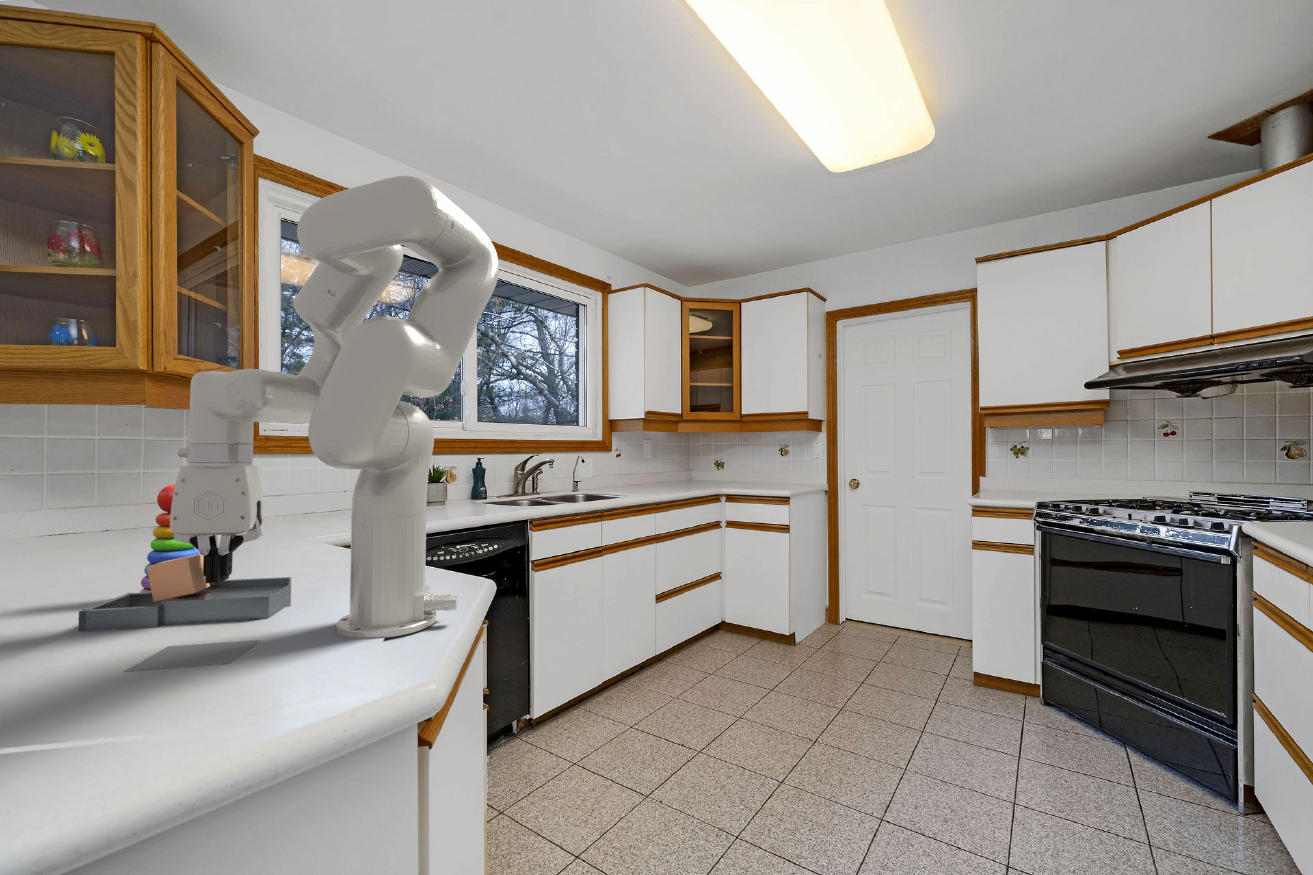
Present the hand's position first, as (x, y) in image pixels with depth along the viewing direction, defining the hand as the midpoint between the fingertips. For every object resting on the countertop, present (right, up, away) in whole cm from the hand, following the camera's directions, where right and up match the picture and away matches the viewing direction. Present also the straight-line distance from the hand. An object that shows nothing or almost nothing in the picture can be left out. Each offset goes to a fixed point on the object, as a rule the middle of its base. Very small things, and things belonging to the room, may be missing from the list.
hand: (217, 580), depth 82 cm
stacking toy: (-16, -6, +10) cm, 20 cm away
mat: (+10, -5, -16) cm, 20 cm away
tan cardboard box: (-4, -2, -1) cm, 5 cm away
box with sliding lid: (-3, -5, -1) cm, 6 cm away
